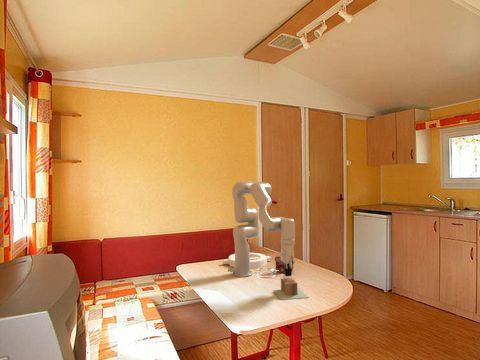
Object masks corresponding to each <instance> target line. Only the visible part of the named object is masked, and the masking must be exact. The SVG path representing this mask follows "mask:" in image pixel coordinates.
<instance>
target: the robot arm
mask: <svg viewBox="0 0 480 360" xmlns="http://www.w3.org/2000/svg"><path fill="white" fill-rule="evenodd" d="M272 191H273V188H272V186H271V184H270V183H269V182H266V181H265V182H263V181H255V180H254V181H249V180H248V181H247V180H246V181H245V180H244V181H243V180H242V181H238V182H236V183H234V184H233V186H232V190H231V193H232V198H233V199H232V200H233V203H234V204H233V206H234V207H233V208H234V209H233V210H234V220H235V222H236V223H238V224H240V225H237V226H235V227H234V228H233V229H232V235H233V240H234V254H235V266H234V267H232V268H230V267H228V268H227V272H230V273H232V275H233V276H235V277H237V278H238V277H239V278H245V277H251V276H252V275H253V271H252V270H251V268H250V253H251V251H250V248H251V247H250V245H249V242H248V241H247V240H250V239H256V238H257V237H258V235H259V228H260V227H259V222H260V224H261V226H262V227H263V228H264V230H265V231H267V232H271V233H272V232H279V231H280V245H281V247H280V256H281V261H282V262H283V263H285V272H284V276H285V277H292V272H293V269H292V264H293V265H294V264H295V246H296V238H295V237H296V235H295V234H296V232H295V231H296V227H295V226H296V225H295V220H294V218H288V217H283V216H276V217H275V216H274V217H270V216H269V214H268V211H267V209H268V208H270V206H271V205H272V203H273V201H272V199H271V197H270V195H271V194H272ZM245 195H251V196H252V199H254V201H255V203H256V205H257V206H258V212H257V210H256V208H254V207H248V201H247V198H246V197H245ZM243 223H244V224H243ZM245 223H247V224H245Z"/></svg>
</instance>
